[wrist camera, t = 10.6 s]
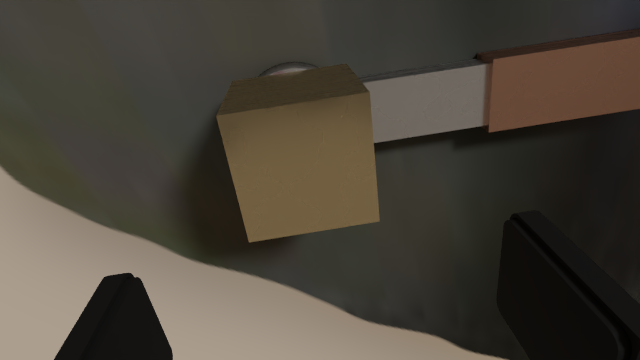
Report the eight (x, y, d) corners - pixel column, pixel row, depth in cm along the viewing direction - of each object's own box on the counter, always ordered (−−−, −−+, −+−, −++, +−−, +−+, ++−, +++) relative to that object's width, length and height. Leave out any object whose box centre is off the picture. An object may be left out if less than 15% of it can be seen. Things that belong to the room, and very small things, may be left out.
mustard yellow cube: (346, 63, 21) (369, 92, 15) (356, 166, 24) (379, 221, 18) (232, 81, 21) (216, 115, 15) (255, 182, 23) (249, 242, 18)
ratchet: (647, 7, 23) (748, 14, 18) (623, 114, 26) (704, 145, 21) (230, 71, 22) (216, 96, 17) (253, 172, 25) (247, 218, 20)
